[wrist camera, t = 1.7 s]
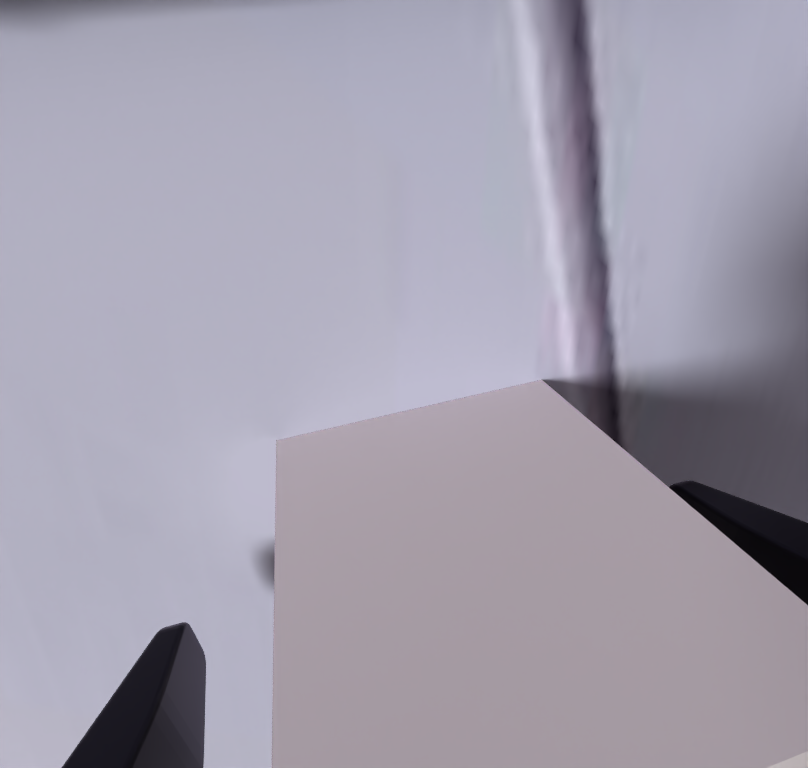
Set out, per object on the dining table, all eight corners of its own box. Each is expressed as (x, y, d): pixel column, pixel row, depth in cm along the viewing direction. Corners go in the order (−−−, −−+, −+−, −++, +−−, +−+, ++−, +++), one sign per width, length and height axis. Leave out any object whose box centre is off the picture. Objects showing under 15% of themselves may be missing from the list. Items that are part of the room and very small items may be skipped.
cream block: (537, 562, 11) (765, 922, 6) (331, 622, 10) (384, 1101, 5) (540, 378, 9) (923, 703, 4) (276, 439, 8) (267, 969, 3)
